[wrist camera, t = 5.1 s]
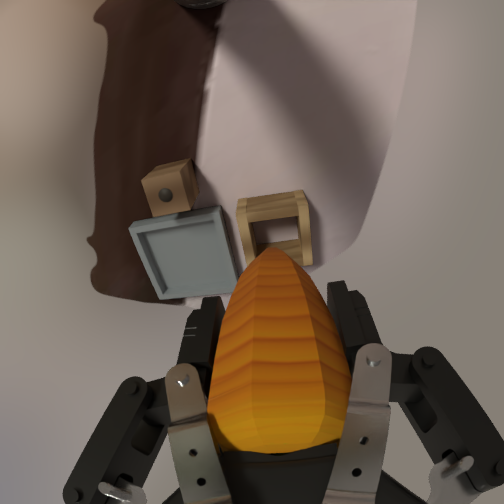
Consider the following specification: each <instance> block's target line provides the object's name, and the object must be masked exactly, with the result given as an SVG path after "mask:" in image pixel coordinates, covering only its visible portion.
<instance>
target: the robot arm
mask: <svg viewBox="0 0 504 504" xmlns="http://www.w3.org/2000/svg"><path fill="white" fill-rule="evenodd" d="M174 1H175V2H177V3H178V4H180V5H182V6H184V7H187V8H192V9H205V8H211V7H214V6H218V5H220V4H222V3H224V2H226V1H227V0H174ZM327 307H328V309H329V311H330V313H331V315H332V317H333V319H334V322H335V325H336V328H337V331H338V334H339V337H340V340H341V343H342V346H343V350H344V353H345V357H346V359H347V362H348V366H349V370H350V374H351V377H352V383H351V389H350V395H349V401H348V406H347V411H346V416H345V420H344V425H343V429H342V432H341V438H340V442H339V446H338V448H337V443H332V444H326V445H319V446H313V447H309V448H306V449H301V450H298V451H295V452H292V453H289V454H286V455H282V456H274V455H268V454H263V453H257V452H252V451H224V452H223V451H222V449H221V447H220V445H219V443H218V441H217V438H216V436H215V434H214V432H213V429H212V426H211V422H210V419H209V415H208V412H207V406H208V399H209V392H210V386H211V379H212V373H213V366H214V360H215V355H216V350H217V345H218V340H219V335H220V330H221V325H222V320H223V317H224V315H225V309H224V306H223V303H222V300H221V297H220V296H214V297H205V298H203V300H202V304H201V309H197V310H193V311H192V313H191V314H190V316H189V317H188V318H187V322H186V326H185V330H184V337H183V339H182V343H181V347H180V352H179V356H178V360H177V364H176V365H175V366H174V367H172V368H171V369H170V370H169V371H168V372H167V374H166V377H164V378H161V379H157V380H154V381H150V382H146V381H145V380H144V379H142V378H140V377H136V376H135V377H130V378H128V379H126V380H125V381H123V382H122V384H121V385H120V387H119V388H118V390H117V392H116V394H115V396H114V397H113V399H112V401H111V402H110V404H109V406H108V407H107V409H106V411H105V412H104V414H103V416H102V418H101V419H100V421H99V423H98V425H97V427H96V428H95V430H94V432H93V434H92V435H91V438H90V439H89V441H88V443H87V445H86V447H85V448H84V450H83V452H82V454H81V456H80V458H79V459H78V461H77V463H76V465H75V467H74V469H73V471H72V473H71V475H70V477H69V479H68V481H67V483H66V485H65V486H64V489H63V499H64V502H65V504H146V503H147V499H146V496H145V493H144V491H143V489H142V487H143V485H144V483H145V480H146V478H147V476H148V474H149V472H150V470H151V468H152V466H153V463H154V461H155V459H156V457H157V455H158V453H159V451H160V448H161V446H162V444H163V442H164V440H165V438H166V436H167V433H168V436H169V441H170V446H171V451H172V456H173V461H174V465H175V470H176V473H177V477H178V482H179V486H180V487H179V488H178V489H177V490H176V491H175V492H174V493H173V494H172V495H171V496H169V497H168V498H167V499H166V500H165V501H164V502H163V503H162V504H470V503H471V502H472V501H473V500H474V499H476V498H477V497H478V496H479V495H480V494H481V493H483V492H485V491H488V490H490V489H493V488H495V487H498V486H500V485H502V484H503V483H504V441H503V439H502V437H501V436H500V434H499V432H498V431H497V430H496V428H495V426H494V425H493V423H492V422H491V420H490V419H489V417H488V416H487V414H486V413H485V411H484V410H483V408H482V407H481V406H480V404H479V403H478V401H477V400H476V398H475V397H474V396H473V394H472V393H471V391H470V390H469V389H468V387H467V386H466V385H465V383H464V382H463V380H462V379H461V378H460V377H459V375H458V374H457V372H456V371H455V370H454V369H453V367H452V366H451V365H450V363H449V362H448V361H447V360H446V358H445V357H444V356H443V354H442V353H441V352H440V351H439V350H437V349H436V348H433V347H422V348H420V349H418V350H417V351H416V352H415V353H414V355H411V354H410V355H409V354H397V353H394V352H391V351H389V350H388V349H387V348H386V347H385V346H384V345H383V344H382V343H381V340H380V337H379V334H378V332H377V329H376V326H375V324H374V321H373V318H372V316H371V313H370V310H369V308H368V305H367V303H366V300H365V298H364V296H363V295H362V294H360V293H359V292H358V291H357V290H354V291H348V289H347V286H346V284H345V281H344V280H343V281H336V282H329V283H328V284H327ZM389 402H398V403H399V405H400V407H401V408H402V410H403V412H404V413H405V415H406V416H407V418H408V420H409V421H410V423H411V425H412V426H413V428H414V430H415V431H416V433H417V435H418V436H419V438H420V440H421V442H422V443H423V445H424V447H425V449H426V450H427V452H428V454H429V456H430V457H431V459H432V461H433V463H434V464H435V465H434V466H433V468H432V469H431V471H430V474H429V483H430V486H431V493H430V497H429V499H428V500H427V502H425V501H424V500H422V499H421V498H420V497H418V496H416V495H415V494H414V493H413V492H411V491H410V490H408V489H407V488H406V487H404V486H403V485H402V484H400V483H399V482H397V481H396V480H395V479H393V478H392V477H391V476H390V475H388V474H387V473H386V472H384V471H383V470H382V465H383V460H384V454H385V448H386V442H387V436H388V430H389V421H390V414H391V408H390V406H389Z"/></svg>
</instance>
